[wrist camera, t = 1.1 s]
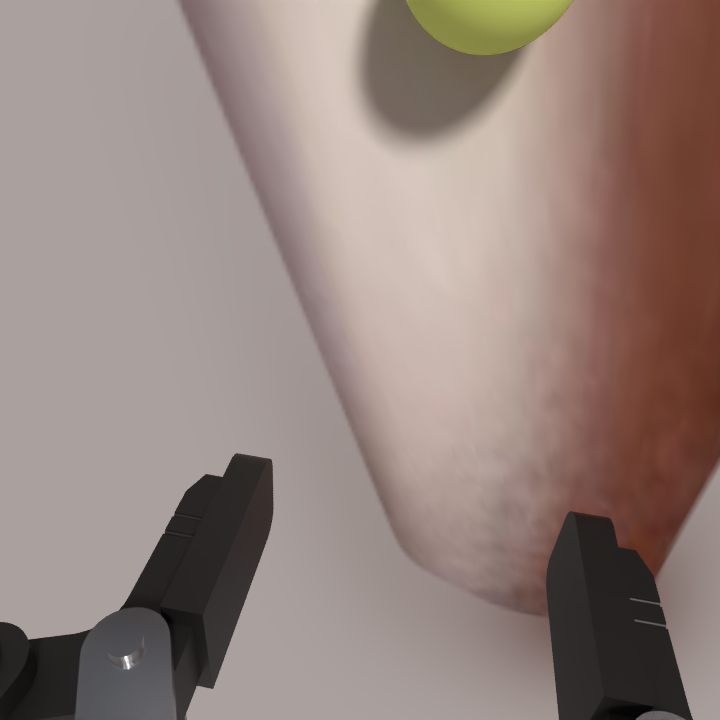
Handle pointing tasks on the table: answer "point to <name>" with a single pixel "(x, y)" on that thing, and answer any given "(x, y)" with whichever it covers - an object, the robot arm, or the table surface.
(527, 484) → the table surface
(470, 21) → the ball
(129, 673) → the robot arm
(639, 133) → the table surface
